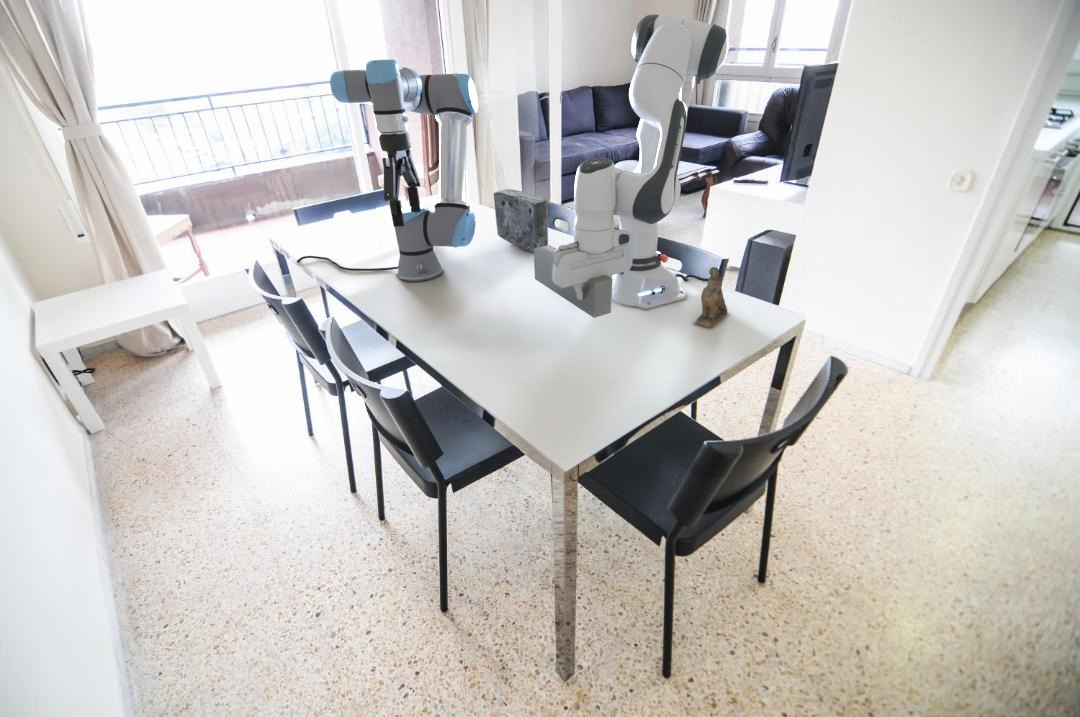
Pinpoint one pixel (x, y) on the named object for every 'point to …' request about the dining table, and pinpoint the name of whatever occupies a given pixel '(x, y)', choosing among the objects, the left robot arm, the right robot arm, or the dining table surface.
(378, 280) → the dining table surface
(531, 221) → the concrete block
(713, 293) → the brown carved statuette
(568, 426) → the dining table surface
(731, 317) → the dining table surface
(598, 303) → the bar
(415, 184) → the left robot arm
